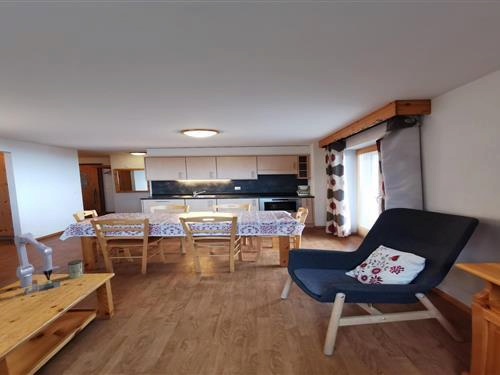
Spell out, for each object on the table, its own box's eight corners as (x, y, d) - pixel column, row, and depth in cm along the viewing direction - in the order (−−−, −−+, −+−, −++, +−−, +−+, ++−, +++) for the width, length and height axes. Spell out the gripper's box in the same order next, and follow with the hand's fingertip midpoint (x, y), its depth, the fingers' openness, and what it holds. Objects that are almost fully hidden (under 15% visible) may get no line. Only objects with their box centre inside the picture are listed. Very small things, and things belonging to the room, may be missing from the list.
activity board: (25, 289, 194) (25, 288, 194) (60, 281, 208) (60, 280, 208) (23, 296, 183) (23, 295, 183) (60, 287, 196) (60, 286, 196)
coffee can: (66, 278, 214) (65, 262, 214) (80, 274, 223) (79, 259, 222) (71, 280, 208) (70, 264, 208) (84, 276, 217) (83, 261, 216)
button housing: (44, 287, 195) (44, 284, 195) (54, 285, 198) (53, 282, 198) (44, 290, 190) (43, 287, 190) (53, 288, 194) (53, 285, 194)
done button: (46, 283, 194) (45, 281, 194) (51, 282, 197) (51, 280, 197) (45, 285, 192) (45, 283, 191) (51, 283, 194) (51, 281, 194)
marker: (32, 290, 190) (31, 280, 190) (38, 289, 192) (37, 279, 192) (32, 291, 188) (31, 281, 187) (37, 290, 190) (36, 280, 189)
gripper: (34, 266, 186) (36, 284, 186) (58, 262, 195) (60, 278, 195) (35, 264, 191) (36, 281, 192) (58, 260, 200) (60, 276, 201)
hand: (48, 279), depth 194 cm, fingers closed
